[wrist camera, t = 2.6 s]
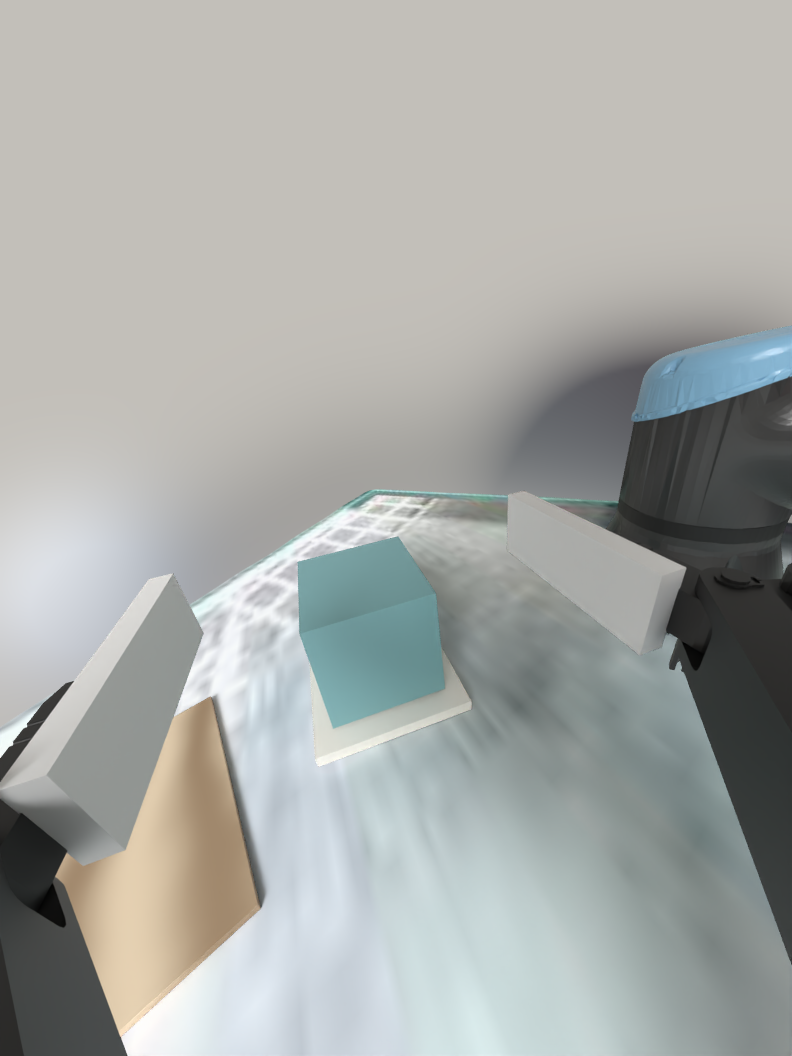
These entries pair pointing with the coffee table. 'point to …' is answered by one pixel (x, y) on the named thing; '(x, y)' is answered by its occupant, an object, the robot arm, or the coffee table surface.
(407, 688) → the aqua blue cube
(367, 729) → the off-white box
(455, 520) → the coffee table surface
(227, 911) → the cork mat
